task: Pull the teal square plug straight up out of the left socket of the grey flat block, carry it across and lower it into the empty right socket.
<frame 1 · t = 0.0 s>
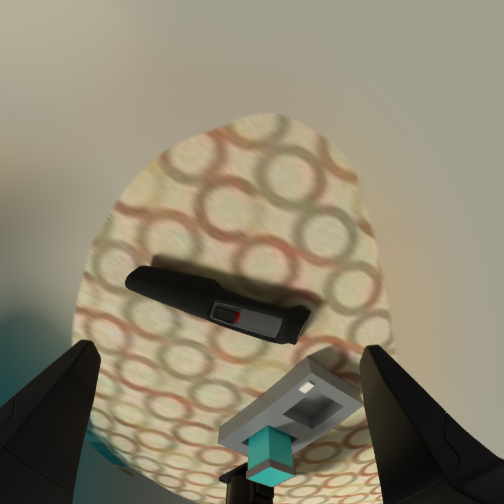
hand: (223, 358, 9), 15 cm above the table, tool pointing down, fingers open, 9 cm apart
electric trimmer: (223, 300, 26), on the table
plug: (269, 428, 29), resting on grey flat block
grey flat block: (287, 412, 29), on the table
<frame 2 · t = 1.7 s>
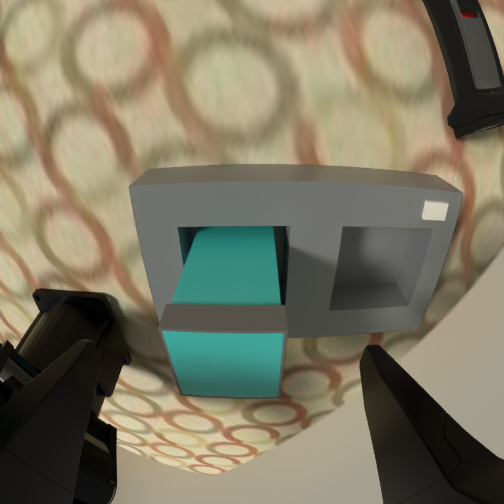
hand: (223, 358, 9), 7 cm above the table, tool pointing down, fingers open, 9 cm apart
plug: (237, 249, 14), resting on grey flat block
grey flat block: (299, 244, 15), on the table
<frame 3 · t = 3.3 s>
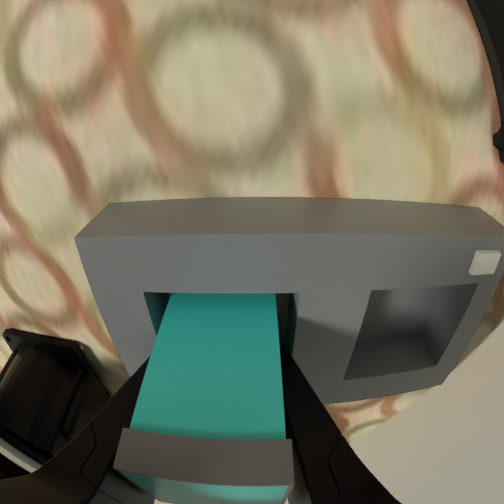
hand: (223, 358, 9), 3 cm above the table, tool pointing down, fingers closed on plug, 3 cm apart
plug: (228, 306, 11), resting on grey flat block, touching gripper
grey flat block: (307, 296, 11), on the table
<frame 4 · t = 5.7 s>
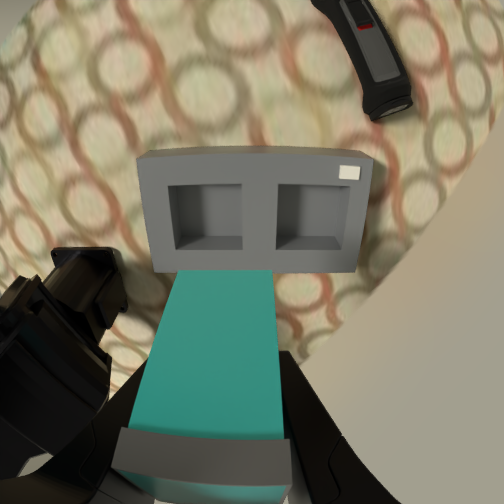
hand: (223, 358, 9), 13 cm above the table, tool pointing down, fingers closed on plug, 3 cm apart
electric trimmer: (340, 18, 14), on the table
plug: (227, 306, 11), point 11 cm above the table, touching gripper
grey flat block: (255, 203, 20), on the table
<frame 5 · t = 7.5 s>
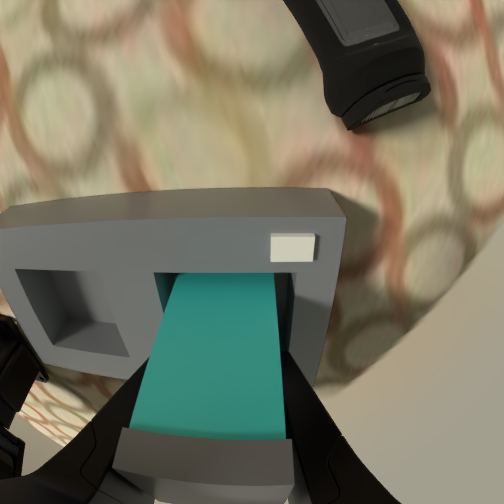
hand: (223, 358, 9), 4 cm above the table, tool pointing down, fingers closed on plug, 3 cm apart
plug: (228, 305, 11), point 2 cm above the table, touching gripper
grey flat block: (151, 281, 12), on the table
when the fingers open (4 cm above the table, at t = 7.9 s): plug stays where it is, resting on grey flat block.
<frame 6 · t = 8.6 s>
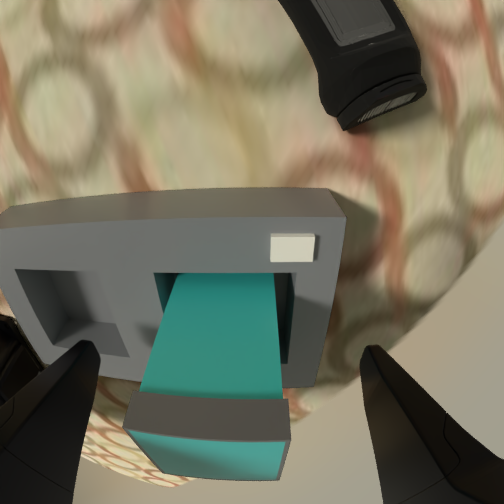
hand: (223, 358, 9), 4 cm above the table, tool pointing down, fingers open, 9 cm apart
plug: (229, 289, 12), resting on grey flat block
grey flat block: (150, 281, 12), on the table
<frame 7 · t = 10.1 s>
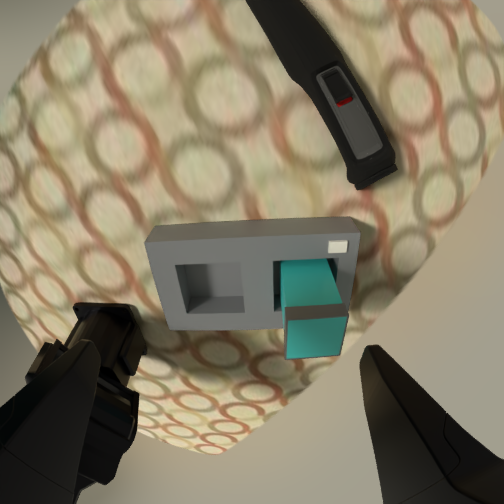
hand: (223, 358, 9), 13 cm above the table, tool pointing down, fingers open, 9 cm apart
electric trimmer: (320, 83, 16), on the table
plug: (300, 269, 22), resting on grey flat block
grey flat block: (254, 268, 23), on the table
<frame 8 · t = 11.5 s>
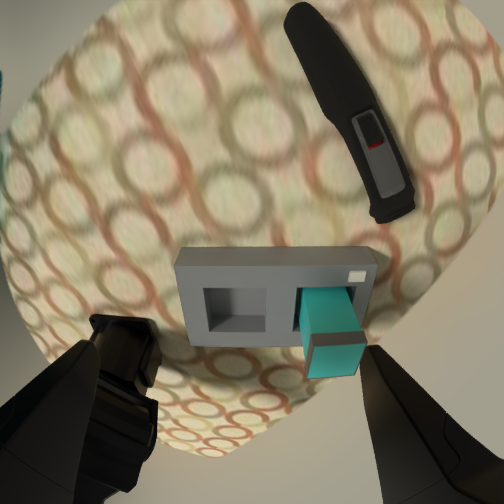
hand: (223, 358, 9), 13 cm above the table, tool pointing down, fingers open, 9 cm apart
electric trimmer: (350, 121, 17), on the table
plug: (318, 293, 23), resting on grey flat block
grey flat block: (275, 290, 24), on the table
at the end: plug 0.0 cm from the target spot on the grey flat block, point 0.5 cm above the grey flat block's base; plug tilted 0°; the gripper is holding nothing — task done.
